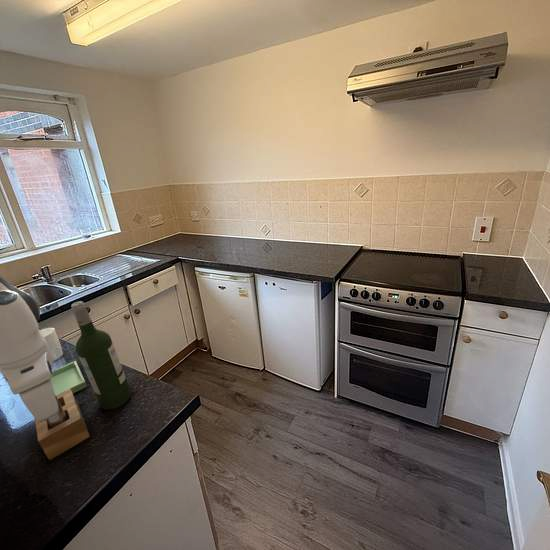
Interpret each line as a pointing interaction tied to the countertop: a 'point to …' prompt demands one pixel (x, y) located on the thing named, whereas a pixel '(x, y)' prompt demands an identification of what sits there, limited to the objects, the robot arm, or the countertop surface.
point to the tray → (67, 379)
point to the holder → (63, 428)
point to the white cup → (52, 341)
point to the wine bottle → (100, 361)
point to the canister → (61, 415)
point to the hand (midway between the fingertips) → (53, 410)
